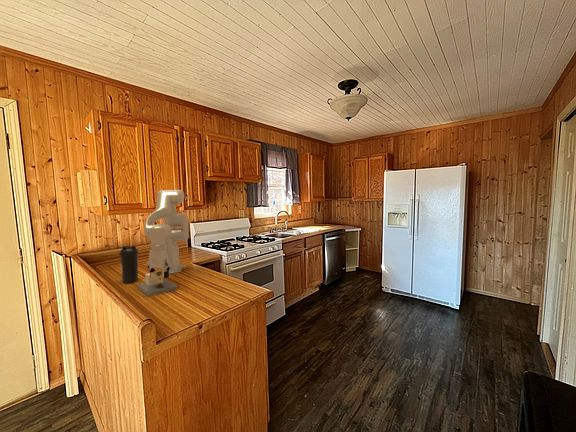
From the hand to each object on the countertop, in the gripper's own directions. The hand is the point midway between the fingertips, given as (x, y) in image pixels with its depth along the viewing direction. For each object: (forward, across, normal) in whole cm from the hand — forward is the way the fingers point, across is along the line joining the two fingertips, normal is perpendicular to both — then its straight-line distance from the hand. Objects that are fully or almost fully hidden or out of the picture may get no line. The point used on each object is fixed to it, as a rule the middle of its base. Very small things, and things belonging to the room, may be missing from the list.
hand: (159, 277), depth 147 cm
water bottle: (+8, -32, +9) cm, 34 cm away
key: (+5, -1, -2) cm, 6 cm away
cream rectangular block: (+6, -9, +5) cm, 12 cm away
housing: (+8, -4, +2) cm, 9 cm away
